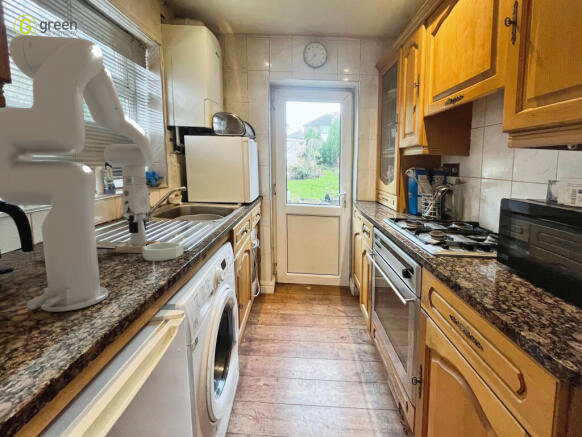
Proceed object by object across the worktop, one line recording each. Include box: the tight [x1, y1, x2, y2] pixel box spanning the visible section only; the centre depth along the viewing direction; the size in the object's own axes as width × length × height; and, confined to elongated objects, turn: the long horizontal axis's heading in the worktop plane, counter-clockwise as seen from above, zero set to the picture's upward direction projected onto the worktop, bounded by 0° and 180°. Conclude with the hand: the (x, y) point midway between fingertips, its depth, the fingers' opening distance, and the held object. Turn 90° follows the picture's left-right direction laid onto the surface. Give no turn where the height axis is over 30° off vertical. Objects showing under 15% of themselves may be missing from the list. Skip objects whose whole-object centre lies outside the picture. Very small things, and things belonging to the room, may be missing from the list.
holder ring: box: [142, 241, 184, 262], centre depth 102 cm, size 12×12×4 cm
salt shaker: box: [129, 213, 148, 247], centre depth 110 cm, size 6×6×13 cm
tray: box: [114, 240, 162, 254], centre depth 111 cm, size 11×11×2 cm
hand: (137, 231), depth 110 cm, fingers open, 4 cm apart
